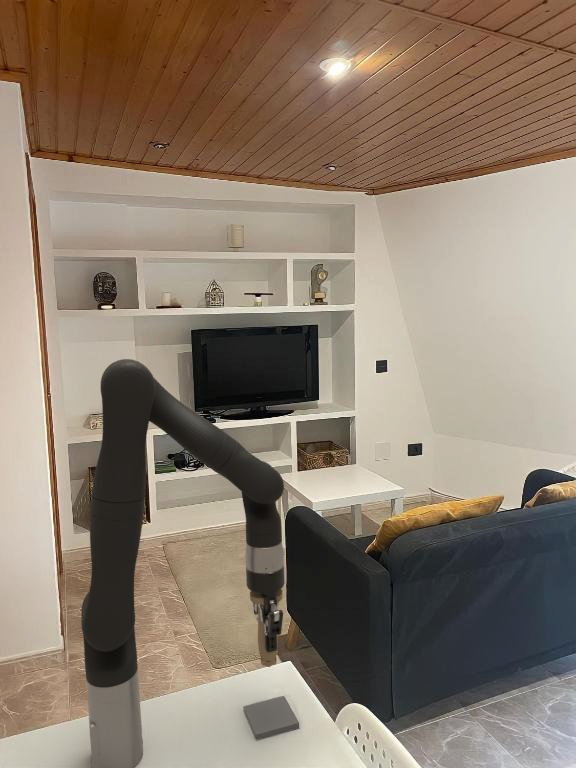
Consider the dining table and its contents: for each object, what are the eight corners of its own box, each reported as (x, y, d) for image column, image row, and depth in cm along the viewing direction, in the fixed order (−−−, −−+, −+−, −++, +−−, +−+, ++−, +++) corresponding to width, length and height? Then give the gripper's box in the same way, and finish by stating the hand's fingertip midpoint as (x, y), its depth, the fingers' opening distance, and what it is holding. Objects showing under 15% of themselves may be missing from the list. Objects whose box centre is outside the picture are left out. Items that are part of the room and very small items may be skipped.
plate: (256, 740, 115) (255, 734, 114) (243, 711, 123) (243, 706, 123) (299, 728, 118) (299, 722, 117) (284, 700, 126) (284, 695, 126)
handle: (285, 669, 117) (282, 597, 115) (252, 671, 116) (249, 599, 114) (284, 655, 121) (281, 586, 119) (252, 657, 121) (250, 587, 119)
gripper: (237, 552, 122) (240, 631, 124) (257, 581, 108) (260, 669, 110) (271, 546, 124) (274, 623, 126) (295, 574, 111) (297, 659, 113)
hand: (267, 644), depth 118 cm, fingers closed on handle, 4 cm apart
